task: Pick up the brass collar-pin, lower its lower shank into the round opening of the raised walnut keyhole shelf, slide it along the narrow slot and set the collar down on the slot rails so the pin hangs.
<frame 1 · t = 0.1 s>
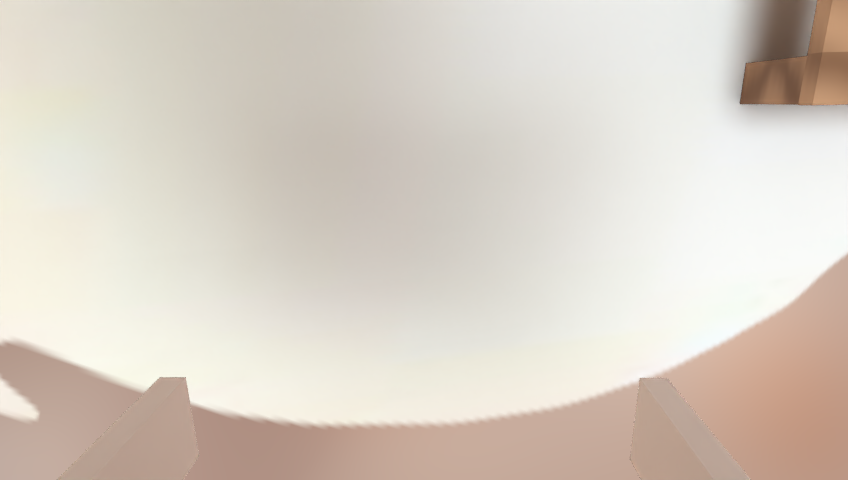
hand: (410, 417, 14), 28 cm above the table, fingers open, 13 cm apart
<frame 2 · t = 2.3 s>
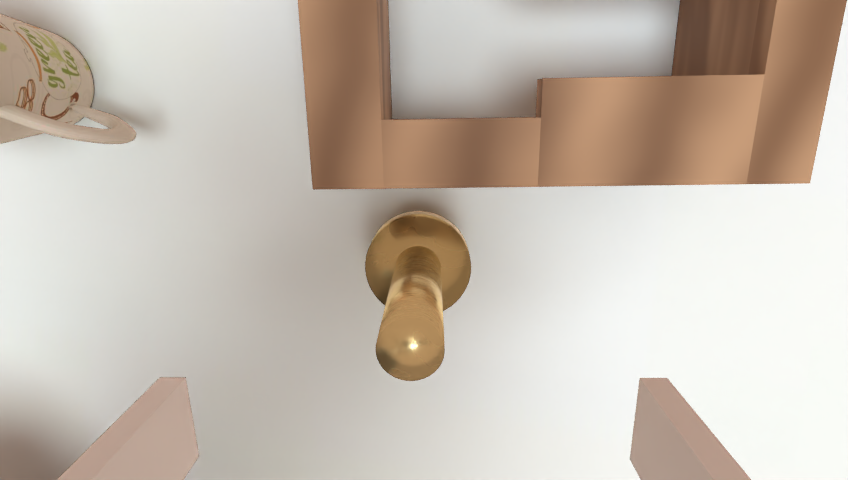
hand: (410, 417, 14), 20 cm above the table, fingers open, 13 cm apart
pin: (420, 237, 34), on the table
mug: (83, 93, 32), on the table
keyhole shelf: (529, 51, 30), on the table
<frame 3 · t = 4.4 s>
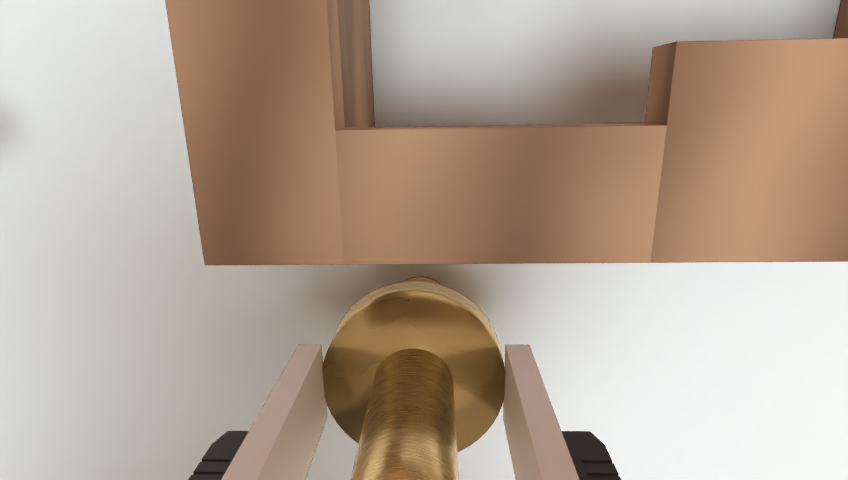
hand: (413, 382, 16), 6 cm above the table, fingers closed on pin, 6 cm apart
pin: (420, 303, 22), on the table, touching gripper
keyhole shelf: (598, 12, 18), on the table
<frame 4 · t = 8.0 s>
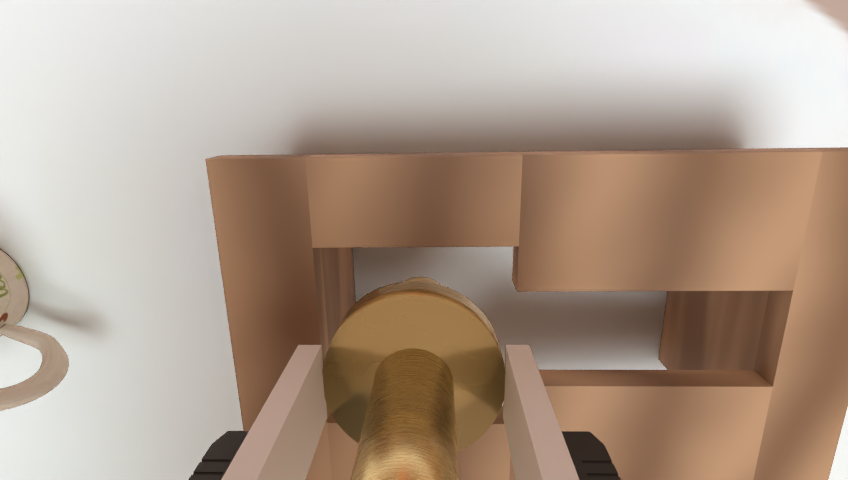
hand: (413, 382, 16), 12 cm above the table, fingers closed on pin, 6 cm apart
pin: (420, 303, 22), point 5 cm above the table, touching gripper
mug: (17, 296, 29), on the table
keyhole shelf: (508, 263, 27), on the table
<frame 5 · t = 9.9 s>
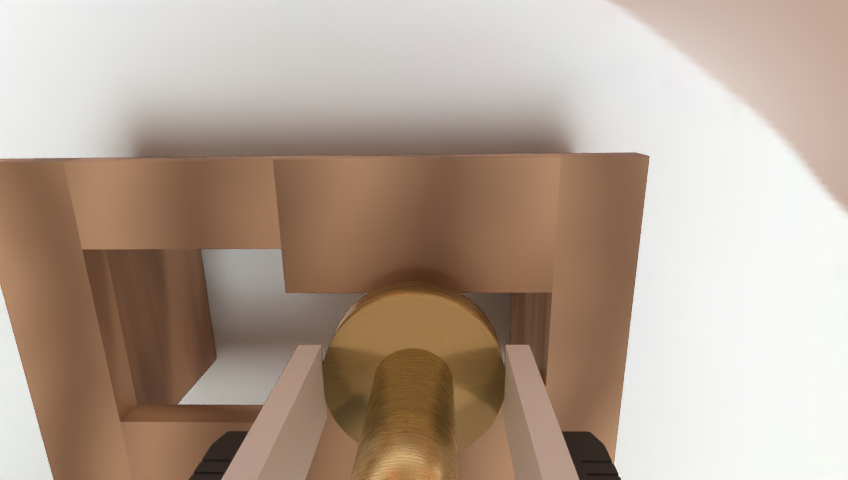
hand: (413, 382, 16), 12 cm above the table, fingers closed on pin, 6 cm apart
pin: (420, 303, 22), point 6 cm above the table, touching gripper
keyhole shelf: (354, 265, 27), on the table
when the fingers open (11 cm above the table, at t = 11.4 s): pin stays where it is, resting on keyhole shelf.
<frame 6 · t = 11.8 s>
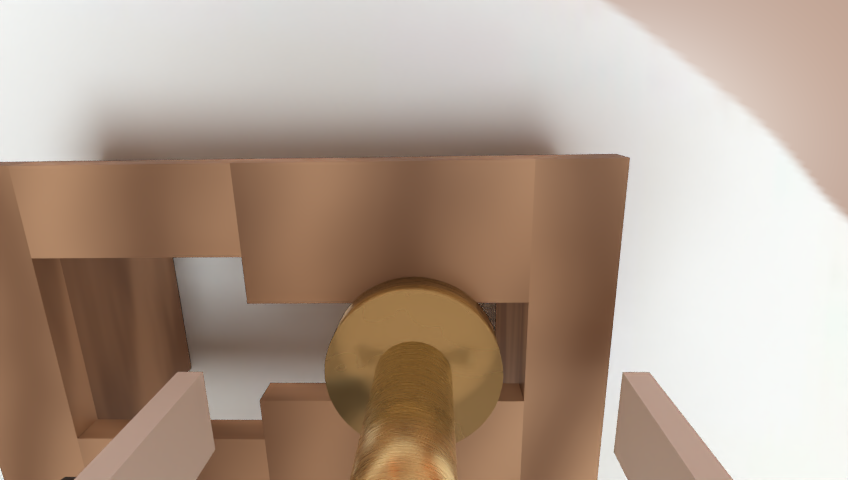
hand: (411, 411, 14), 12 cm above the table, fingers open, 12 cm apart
pin: (420, 299, 22), point 4 cm above the table, touching keyhole shelf
keyhole shelf: (332, 270, 26), on the table
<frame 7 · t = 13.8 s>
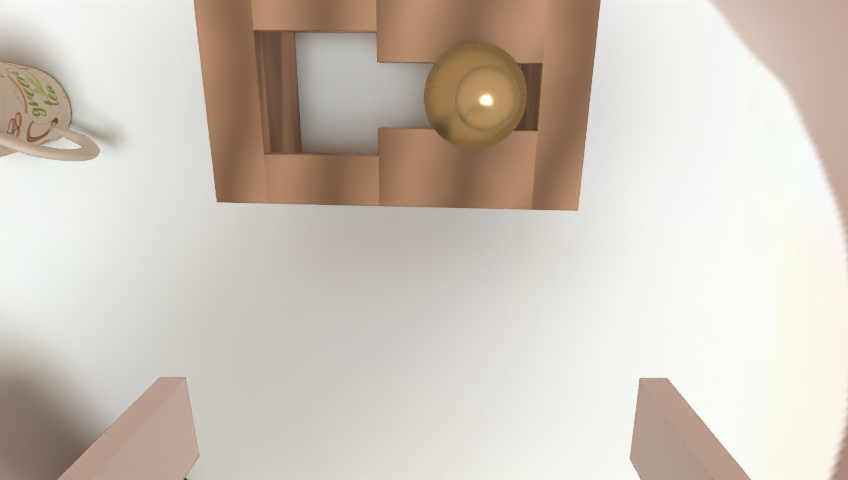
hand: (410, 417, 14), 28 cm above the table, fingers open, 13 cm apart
pin: (470, 96, 34), point 4 cm above the table, touching keyhole shelf
mug: (63, 115, 41), on the table
keyhole shelf: (406, 95, 38), on the table
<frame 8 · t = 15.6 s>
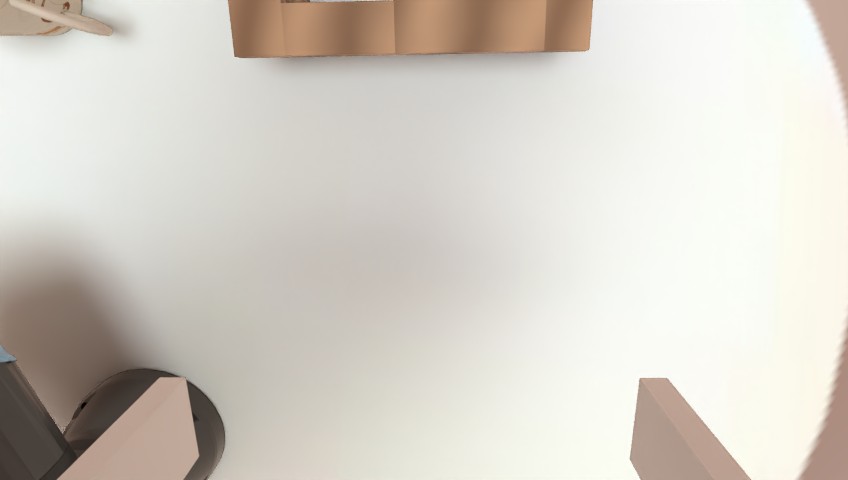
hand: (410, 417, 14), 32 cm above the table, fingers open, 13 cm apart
mug: (73, 7, 41), on the table
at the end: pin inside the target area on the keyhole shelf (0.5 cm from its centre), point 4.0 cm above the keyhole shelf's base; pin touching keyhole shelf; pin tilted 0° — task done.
